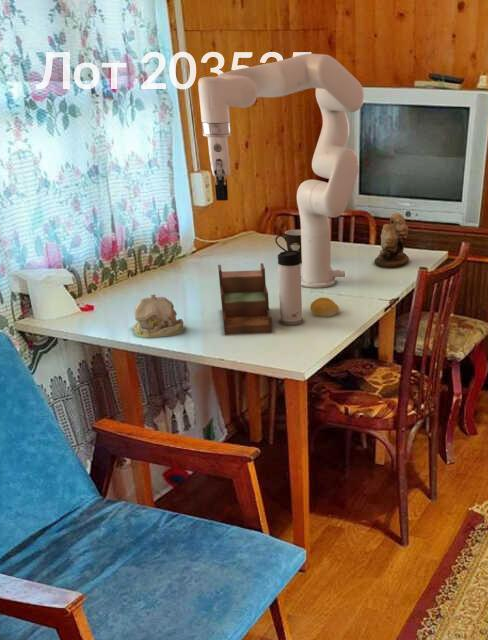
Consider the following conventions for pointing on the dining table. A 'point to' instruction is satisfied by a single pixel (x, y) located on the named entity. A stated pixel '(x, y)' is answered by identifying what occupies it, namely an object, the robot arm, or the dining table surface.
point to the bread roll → (324, 307)
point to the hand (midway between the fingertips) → (222, 196)
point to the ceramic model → (156, 318)
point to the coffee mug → (292, 241)
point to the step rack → (244, 301)
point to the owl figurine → (393, 243)
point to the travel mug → (290, 287)
